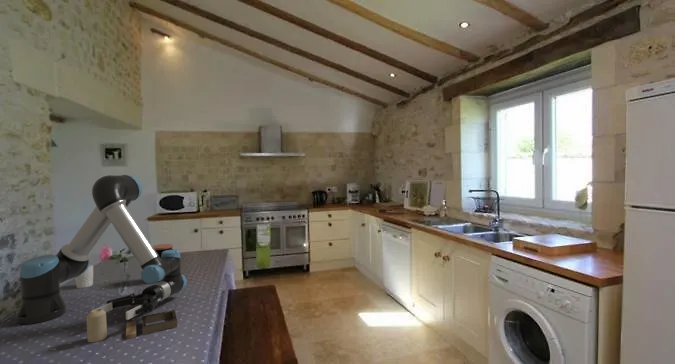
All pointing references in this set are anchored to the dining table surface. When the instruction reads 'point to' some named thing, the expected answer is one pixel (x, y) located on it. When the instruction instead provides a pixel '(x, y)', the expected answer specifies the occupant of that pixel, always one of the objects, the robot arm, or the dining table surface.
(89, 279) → the white cup
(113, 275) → the dining table surface
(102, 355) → the dining table surface
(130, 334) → the strip
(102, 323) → the candle
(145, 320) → the wooden tray
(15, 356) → the dining table surface
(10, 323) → the dining table surface
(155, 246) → the coffee jar
